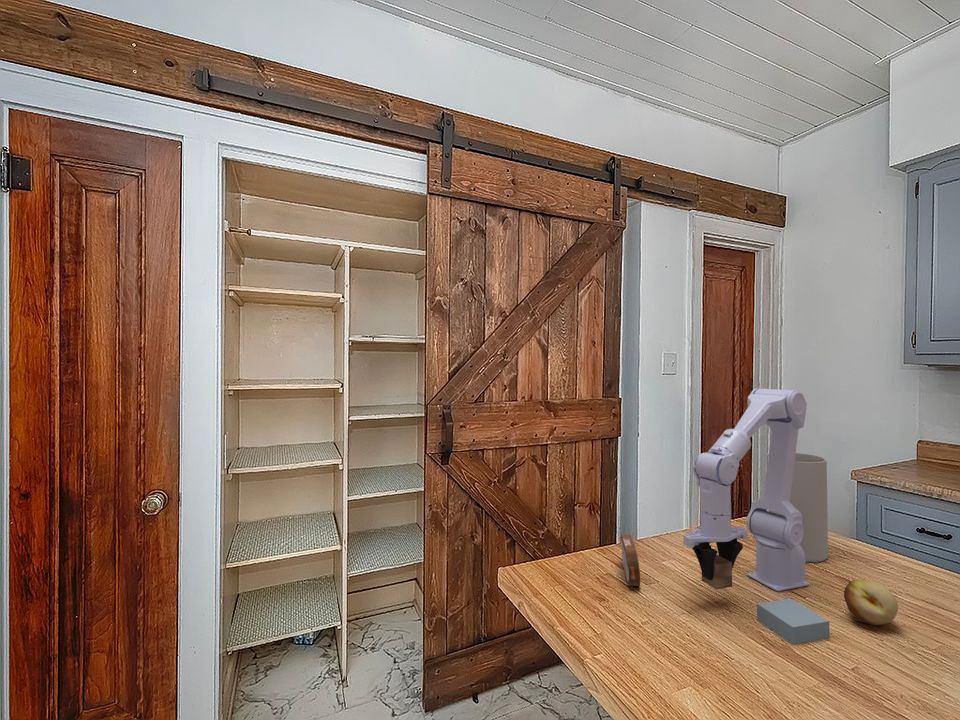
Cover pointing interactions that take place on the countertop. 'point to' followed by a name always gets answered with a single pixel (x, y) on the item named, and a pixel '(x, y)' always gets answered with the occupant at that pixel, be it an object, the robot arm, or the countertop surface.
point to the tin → (630, 561)
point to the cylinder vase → (811, 504)
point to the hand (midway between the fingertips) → (716, 576)
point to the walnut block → (720, 574)
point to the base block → (793, 621)
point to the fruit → (870, 602)
